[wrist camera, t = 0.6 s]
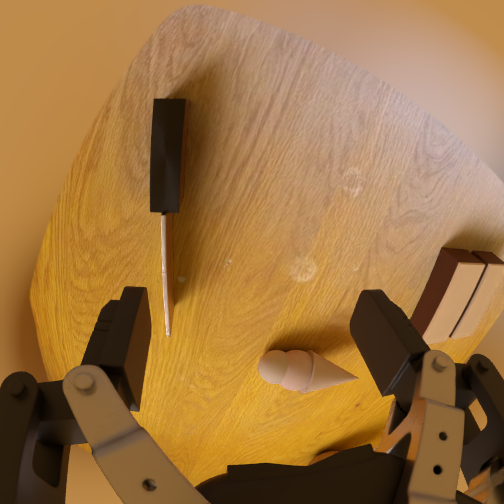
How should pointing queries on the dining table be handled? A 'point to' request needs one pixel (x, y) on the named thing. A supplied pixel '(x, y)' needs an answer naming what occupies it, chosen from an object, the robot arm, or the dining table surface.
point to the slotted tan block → (457, 294)
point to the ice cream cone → (301, 370)
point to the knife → (168, 181)
